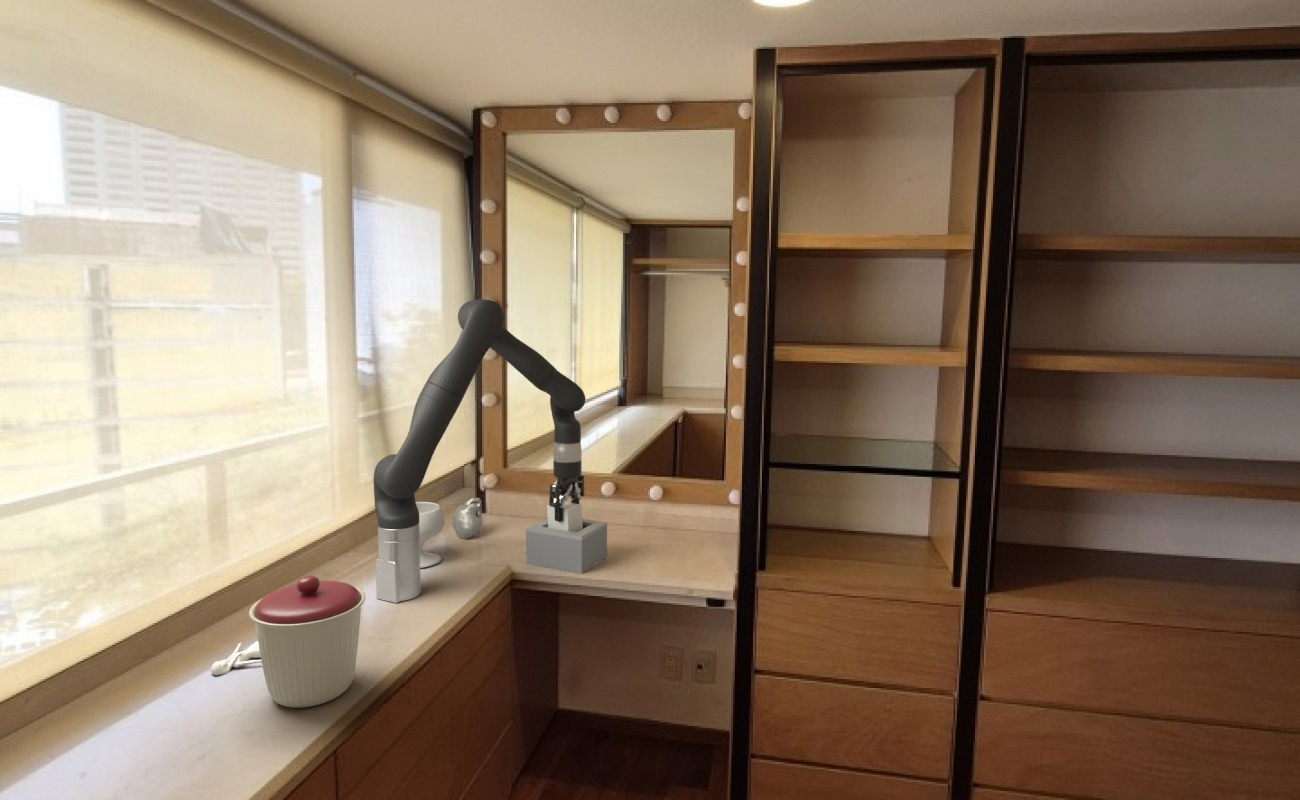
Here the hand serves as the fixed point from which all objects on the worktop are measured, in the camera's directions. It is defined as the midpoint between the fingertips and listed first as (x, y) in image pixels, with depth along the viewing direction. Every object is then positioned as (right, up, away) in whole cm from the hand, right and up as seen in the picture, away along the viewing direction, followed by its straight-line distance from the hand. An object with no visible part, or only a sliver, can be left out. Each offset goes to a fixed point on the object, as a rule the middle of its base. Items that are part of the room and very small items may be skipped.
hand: (567, 517), depth 191 cm
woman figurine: (-53, -18, -54) cm, 78 cm away
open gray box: (0, -12, +1) cm, 12 cm away
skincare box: (-1, -11, +1) cm, 11 cm away
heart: (-33, -9, +21) cm, 40 cm away
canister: (-37, -20, -67) cm, 79 cm away
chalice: (-40, -12, -1) cm, 42 cm away
